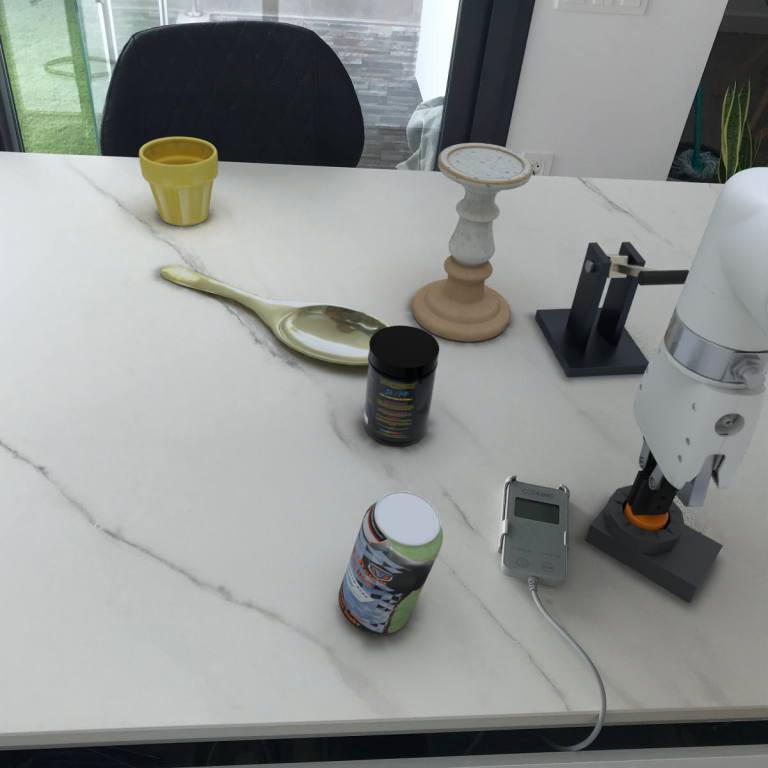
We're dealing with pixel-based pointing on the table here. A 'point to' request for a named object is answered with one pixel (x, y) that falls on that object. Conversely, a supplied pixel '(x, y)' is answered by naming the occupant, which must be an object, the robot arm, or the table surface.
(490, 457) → the table surface
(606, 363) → the black lever switch stand
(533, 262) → the table surface
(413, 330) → the supplement container
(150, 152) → the flower pot
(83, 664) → the table surface
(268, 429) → the table surface
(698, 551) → the button switch box
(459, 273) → the candle holder
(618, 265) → the t-shaped lever handle
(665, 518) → the power button
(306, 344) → the spoon
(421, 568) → the beverage can
